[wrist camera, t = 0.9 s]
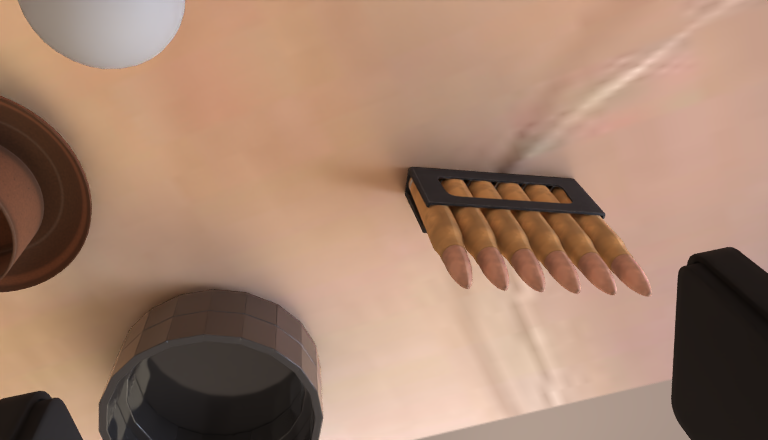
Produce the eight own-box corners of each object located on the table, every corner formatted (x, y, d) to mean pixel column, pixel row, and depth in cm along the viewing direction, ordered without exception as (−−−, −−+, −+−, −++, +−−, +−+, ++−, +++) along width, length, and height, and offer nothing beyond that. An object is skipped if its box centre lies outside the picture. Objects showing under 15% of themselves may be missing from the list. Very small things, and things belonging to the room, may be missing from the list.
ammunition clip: (404, 194, 40) (443, 304, 29) (408, 166, 39) (450, 268, 28) (568, 205, 41) (662, 312, 31) (575, 178, 40) (674, 279, 30)
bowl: (94, 302, 40) (66, 358, 35) (300, 267, 41) (301, 317, 36) (153, 451, 46) (136, 517, 41) (332, 419, 47) (337, 480, 42)
